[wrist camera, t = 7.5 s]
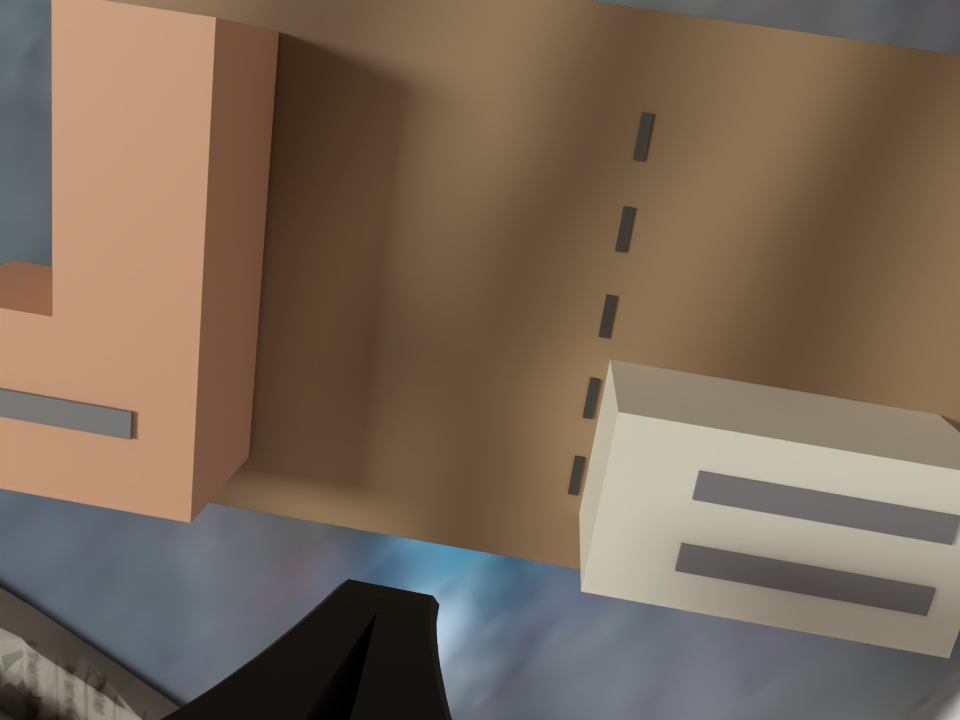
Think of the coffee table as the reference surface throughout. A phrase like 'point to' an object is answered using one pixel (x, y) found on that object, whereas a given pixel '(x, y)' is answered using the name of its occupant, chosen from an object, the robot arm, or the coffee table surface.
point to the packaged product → (64, 674)
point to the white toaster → (774, 508)
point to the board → (574, 245)
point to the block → (142, 264)
